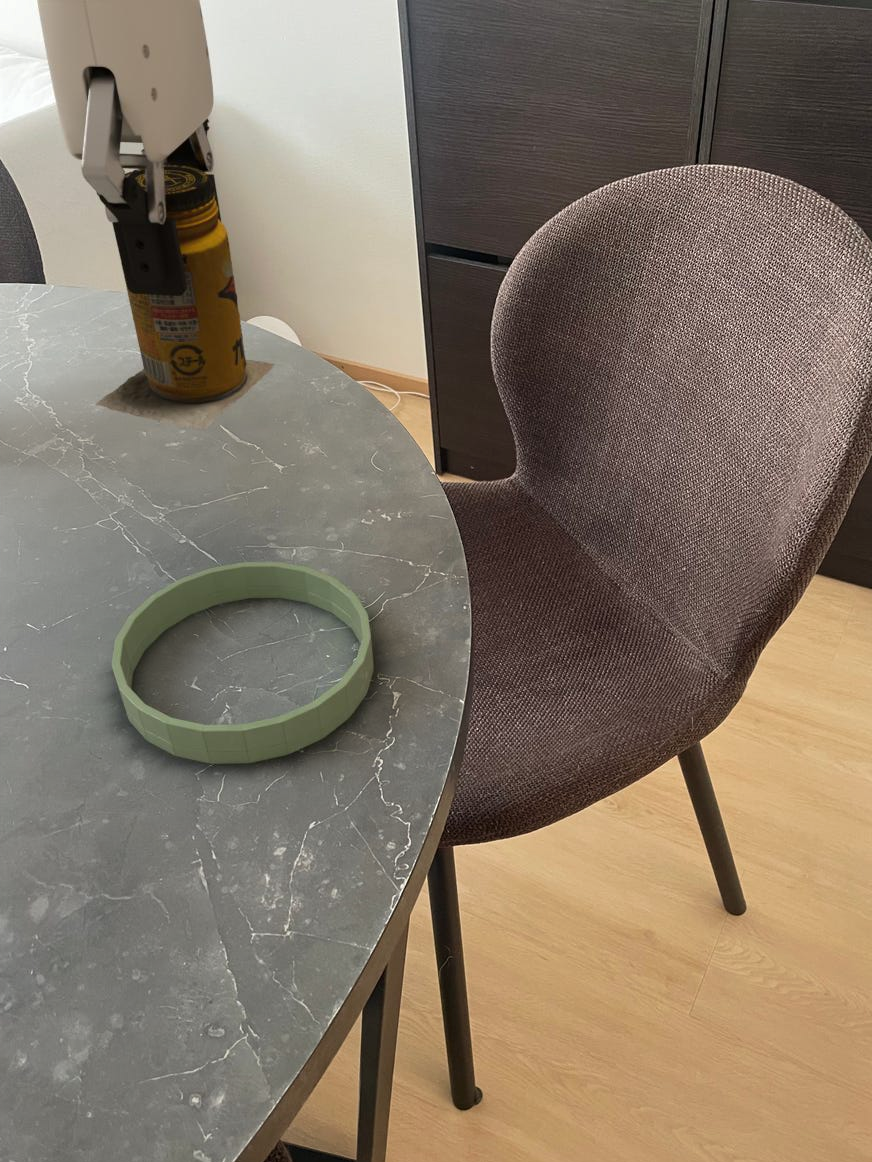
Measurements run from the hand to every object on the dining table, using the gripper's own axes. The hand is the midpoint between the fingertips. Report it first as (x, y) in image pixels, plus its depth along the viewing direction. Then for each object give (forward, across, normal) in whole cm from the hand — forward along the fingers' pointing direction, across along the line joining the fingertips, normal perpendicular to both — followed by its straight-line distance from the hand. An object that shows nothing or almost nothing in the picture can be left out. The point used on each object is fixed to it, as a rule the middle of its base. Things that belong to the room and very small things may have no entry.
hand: (178, 264), depth 59 cm
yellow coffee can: (+7, +1, 0) cm, 8 cm away
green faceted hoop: (+22, +12, +4) cm, 25 cm away
